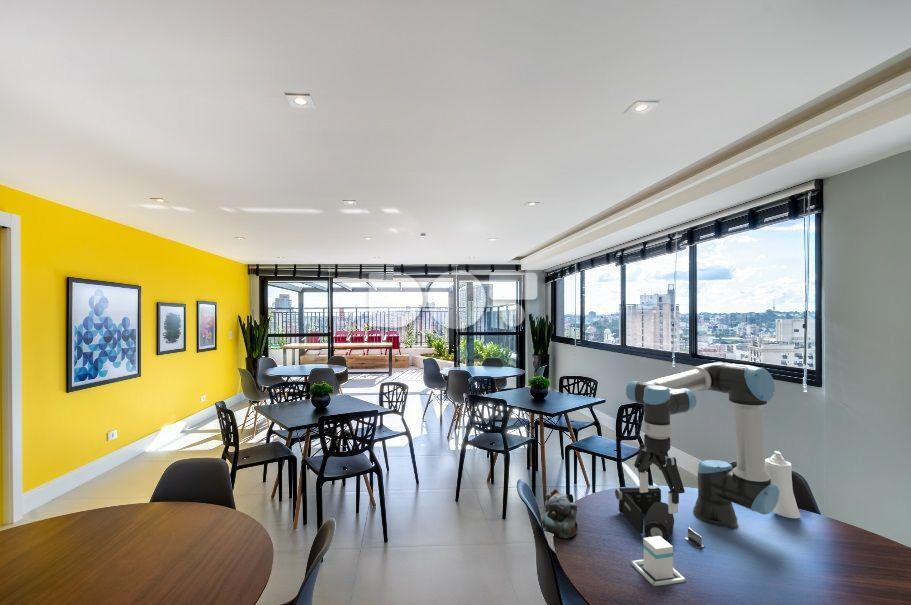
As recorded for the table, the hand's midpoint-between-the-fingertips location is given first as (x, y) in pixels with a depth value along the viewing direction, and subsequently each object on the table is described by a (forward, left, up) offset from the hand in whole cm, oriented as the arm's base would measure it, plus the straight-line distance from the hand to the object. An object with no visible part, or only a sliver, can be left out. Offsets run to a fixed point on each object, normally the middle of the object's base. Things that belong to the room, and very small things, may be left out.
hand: (657, 501), depth 129 cm
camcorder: (-18, -29, -24) cm, 41 cm away
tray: (0, 0, -23) cm, 23 cm away
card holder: (-25, -12, -23) cm, 36 cm away
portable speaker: (-10, -14, -25) cm, 30 cm away
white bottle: (-76, -23, -24) cm, 83 cm away
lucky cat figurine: (+19, -30, -24) cm, 43 cm away
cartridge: (0, 0, -23) cm, 23 cm away
